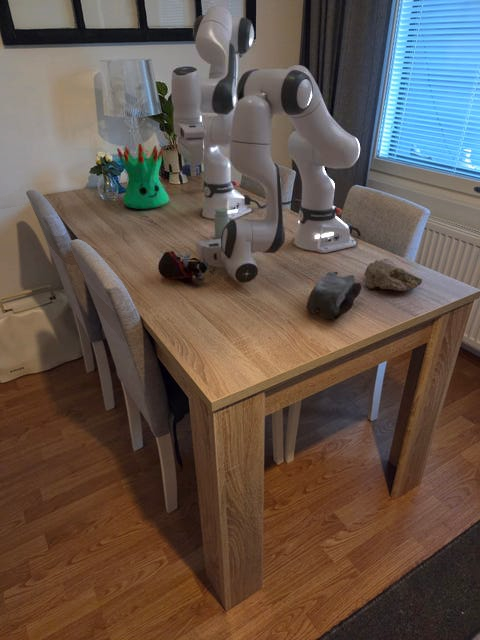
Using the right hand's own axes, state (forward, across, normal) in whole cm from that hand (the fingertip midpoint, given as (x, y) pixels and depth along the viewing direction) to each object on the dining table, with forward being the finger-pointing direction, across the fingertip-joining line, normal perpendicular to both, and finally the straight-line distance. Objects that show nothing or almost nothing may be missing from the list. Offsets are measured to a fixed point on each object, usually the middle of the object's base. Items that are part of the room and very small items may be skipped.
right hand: (221, 237), depth 153 cm
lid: (+5, +9, -23) cm, 25 cm away
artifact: (-37, -43, +6) cm, 57 cm away
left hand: (+5, +9, -21) cm, 23 cm away
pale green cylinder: (-1, 0, +6) cm, 6 cm away
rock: (-46, -20, +6) cm, 51 cm away
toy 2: (-18, +17, +6) cm, 25 cm away
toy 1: (+64, +19, +6) cm, 67 cm away
